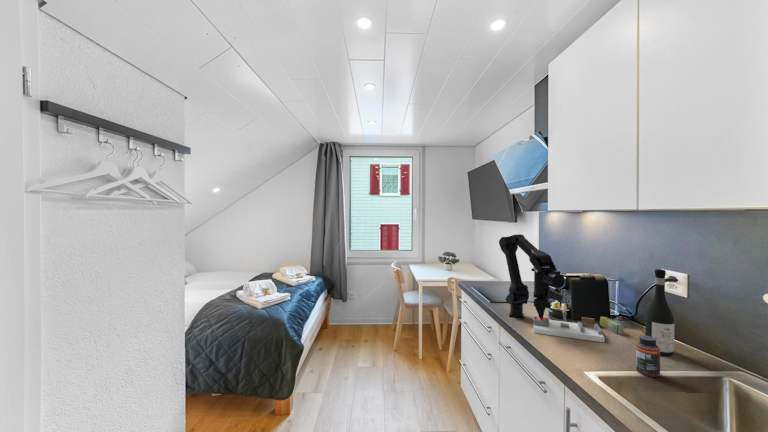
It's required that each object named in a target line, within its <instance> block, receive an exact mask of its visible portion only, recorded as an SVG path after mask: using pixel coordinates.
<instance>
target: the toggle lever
mask: <svg viewBox="0 0 768 432" xmlns="http://www.w3.org/2000/svg"><path fill="white" fill-rule="evenodd" d="M567 314H568V313H567V311H565V310H563V311H561V315H562V321H563V322H567Z"/></svg>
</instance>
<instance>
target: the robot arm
mask: <svg viewBox="0 0 768 432" xmlns="http://www.w3.org/2000/svg"><path fill="white" fill-rule="evenodd" d="M498 244H499V247H500V250H501V251H502V253H503V254H504V255H505V258H506V259H505V260H506V265H507V271H508V275H509V278H510V279H509V280H510V285H509V288H508V291H509V292H508V294H507V296H506V297H505V302H506V303H507V304H509V307H510V309H509V312H508V313H509V314H508V317H510V318H511V317H513V318H518V319H519V318H520V319H524V315H525V313H524V312H523V311H524V310H523V309H524V304H528V302H529V298H530V291H529V288H528V285H527V284H524V283H523V281H522V277H521V271H520V265H519V262H518V258H517V251H518V248H520V250H522V251H523V252H524V253H525V254H526V255H527V256H528V257H529V258H528V259H529V262H530V264H531V265H532V266H533V267H532V268H531V270H530V271H531V272H533V274H534V275H533V276H534V277H533V279H534V281H533V285H534V288H533V293H532V294H533V295H532V296H533V298H534V299H533V307H534V308H535V310H536V313H537V315H538V317H540V318H541V319H543V317H544V315H545V314H544V313H545V310H546V309H551V301H550V299H552V300H555V301H557V302H558V303H562V301H563V298H564V297H565V295H564V293H563V292H561V290H560V288H562V287H564V285H565V282H566V279H565V277H564V276H563V275H562V274H561V271H559V270H557V267H556V265H555V264H554V261H553V259H552V257H551V254H548V253H546V252H545V251H543V250H540V249H538V248H537V247H536V246H534V244H532V243H531V242H530V241H529V240H528V239H527V238H526V237H525V235H524V234H520V233H519V234H518V233H517V234H513V235H509V236H502V237H500V239H499V240H498ZM550 287H553V288H554V289H553V288H550Z"/></svg>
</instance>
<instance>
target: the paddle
mask: <svg viewBox="0 0 768 432" xmlns="http://www.w3.org/2000/svg"><path fill="white" fill-rule="evenodd" d="M595 320H596V319H595V318H592V317H584V316H581V324H582V326H583V327H592V328H595V324H596V323H595Z"/></svg>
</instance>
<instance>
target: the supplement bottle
mask: <svg viewBox="0 0 768 432" xmlns="http://www.w3.org/2000/svg"><path fill="white" fill-rule="evenodd" d="M635 368H636V372H638V373H639V374H641V375H643V376H646V377H650V378H651V377H652V378H657V377H659V376H660V375H661V355H660V348H659V347H658V346H657V345H656V339H655V338H653V337H650V336H645V335H640V336H639V341H638V342H636V344H635Z"/></svg>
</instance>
